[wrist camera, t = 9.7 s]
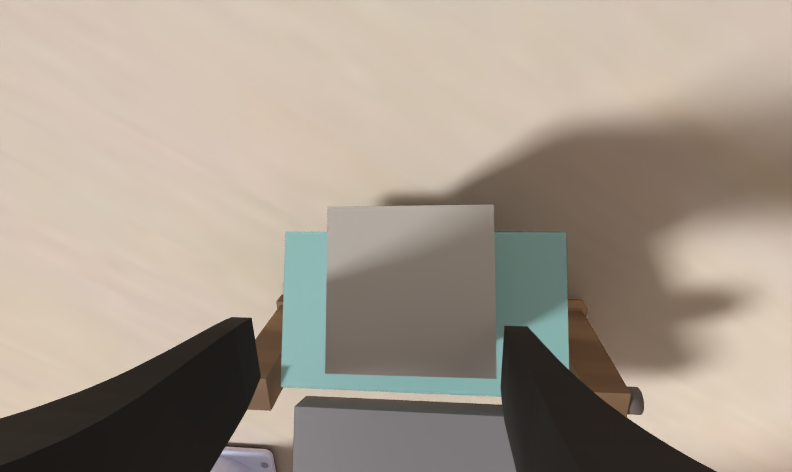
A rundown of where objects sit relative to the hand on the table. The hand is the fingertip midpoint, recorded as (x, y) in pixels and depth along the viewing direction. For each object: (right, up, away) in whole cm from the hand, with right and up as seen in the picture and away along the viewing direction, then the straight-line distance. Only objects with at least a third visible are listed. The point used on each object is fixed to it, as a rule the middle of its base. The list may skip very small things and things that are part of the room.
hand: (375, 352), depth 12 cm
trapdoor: (+2, -2, +6) cm, 7 cm away
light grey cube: (+1, +1, +3) cm, 4 cm away
